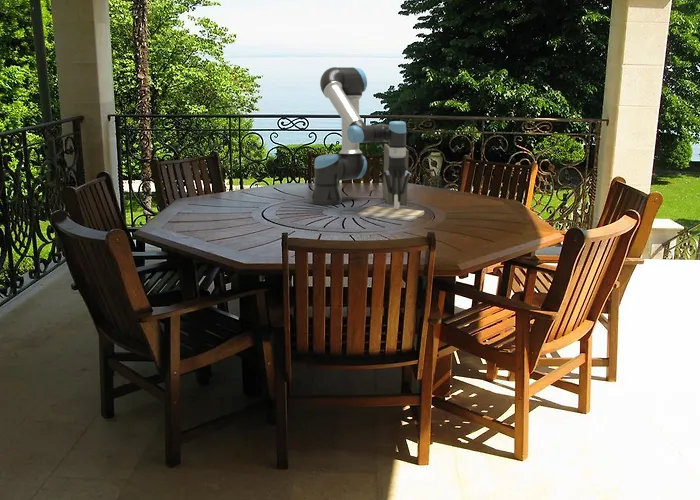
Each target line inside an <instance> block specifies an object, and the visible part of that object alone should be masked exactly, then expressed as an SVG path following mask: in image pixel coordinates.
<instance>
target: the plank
mask: <svg viewBox="0 0 700 500" xmlns="http://www.w3.org/2000/svg"><path fill="white" fill-rule="evenodd" d="M362 211H368V212H378V213H388V214H398V215H408V216H417V218H416V219H419V218H421V217H422V216H423V215H425V210H418V209H411V208H410V209H408V208H407V209H406V208H399V209H394V207H389V206H388V207H387V206H375V205H369V206H368V207H366V208H365V209H363V210H362Z"/></svg>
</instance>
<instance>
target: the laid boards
mask: <svg viewBox="0 0 700 500" xmlns="http://www.w3.org/2000/svg"><path fill="white" fill-rule="evenodd" d="M356 216H361V217H369V218H379V219H380V218H381V219H389V220H391V219H392V220H399V221H408V222H412V221H414V220H416V219H418V218H417V216H408V215H398V214H388V213H378V212H368V211H363V210H361V211H359V212H357V213H356Z"/></svg>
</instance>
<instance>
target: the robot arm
mask: <svg viewBox="0 0 700 500" xmlns="http://www.w3.org/2000/svg"><path fill="white" fill-rule="evenodd" d="M319 80H320V81H319V85H320V86H319V87H320V90H321V92H322V94H323V96H324V97H325V98H327V99H329V101H330V103H331V104H332V106H333V107H334V109H335V110H336V112H337V114H338V116H339V117H340V119H341V150H340V151H339V152H338V154H336V153H330V154H329V153H327V154H326V153H325V154H321V155H318V156H316V157H315V159H314V166H313V167H314V189H313V191H312V195H311V197H310V201H311V202H310V203H311V204H313V205H320V206H335V205H339V204H341V203H342V201H343V200H342V199H343V197H342V195H341V191H340V189H339V181H349V180H355V181H356V180H357V179H362V178H363V177H364V175H365V174H366V173H367V169H368V161H367V158H366V157H365V156H364V155H363V151H362V150H360V143H361V144H362V143H381V142H383V143H384V142H386V143H388V146H389V156H390V157H389V168H388V170H387V171H385V172H384V171H383V172H382V174H383V177H384V176H385V179H386V183H387V188H388V192H389V193H391V194H392V201H394V205H393V208H394V209H400V205H399V203H400V202H401V197H402V194H404V193H405V192H406V189H407V190H408V184H409V180H410V177H411V176H412V172H409V170H408V171H407V169H406V158H405V157H404V156H406V149H407V146H406V145H407V123H406V122H405V121H403V120H402V121H401V120H394V121H389V124H385V123H379V124H370V125H369V124H368V125H367V124H366V123H365V122H364V121H363V120H362V118H361V116H360V99H361V98H362V96H363V92H366V90H367V88H368V87H367V86H368V79H367V75H366V73H365V72H364V70H363V69H362V68H359V67H336V66H334V67H330V68H327V69H326V70H325V71H324V72H323V73H322V75H321V77H320V79H319ZM389 173H390V174H391V176H392V185H391V181H390V176H389ZM404 174H405V176H406V177H405V179H404V183H403V188H402V176H403V175H404ZM397 180H398V194H396V193H397V192H396V185H397Z"/></svg>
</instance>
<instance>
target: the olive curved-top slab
mask: <svg viewBox="0 0 700 500" xmlns="http://www.w3.org/2000/svg"><path fill="white" fill-rule="evenodd" d="M383 145H384V146H383V147H384V150H383V152H384V153H383V172H385V171H387V170H388V168H389V157H390V156H389V144H387V143H384V144H383ZM409 153H410V152H409V149H407V148H406V156H404V157H405V158H406V169H407V171H408V172H409ZM389 176H390V181H391V185H392V176H391V174H390V173H389ZM405 177H406V176H405V174H404V175H403V176H402V188H403V183H404V179H405ZM382 180H383V181H382V182H383V187H382V199H383V200H385V203H386V205H391V206H392V205H393V206H394V201H392V194H391V193H389V192H388V188H387V183H386V179H385V176H384V175H383V179H382ZM396 192H397V193H396V194H398V180H397V185H396ZM399 206H404V207H407V206H408V188H407V189H406V192H405V193H404V194H402V197H401V202H400V203H399Z"/></svg>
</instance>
